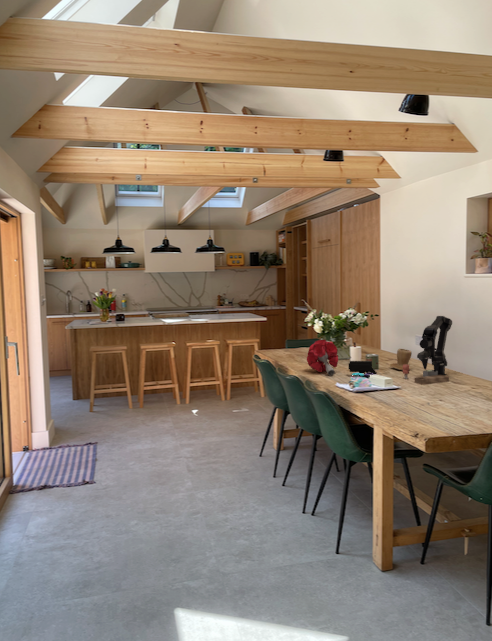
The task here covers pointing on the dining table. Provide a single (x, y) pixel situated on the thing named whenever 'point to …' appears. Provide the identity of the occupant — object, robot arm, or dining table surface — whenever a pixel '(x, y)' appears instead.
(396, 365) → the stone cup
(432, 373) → the stud finder
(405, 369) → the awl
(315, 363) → the bouquet
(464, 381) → the dining table surface
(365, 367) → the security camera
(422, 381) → the beam
